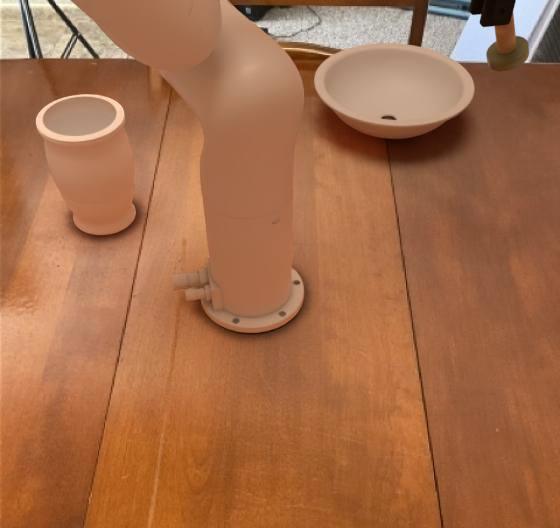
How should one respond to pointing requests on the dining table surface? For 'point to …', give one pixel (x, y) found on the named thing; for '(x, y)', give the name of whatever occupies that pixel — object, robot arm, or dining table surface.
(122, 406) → the dining table surface
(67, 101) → the jar
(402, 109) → the beige sink basin
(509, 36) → the stamp with round base
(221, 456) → the dining table surface
